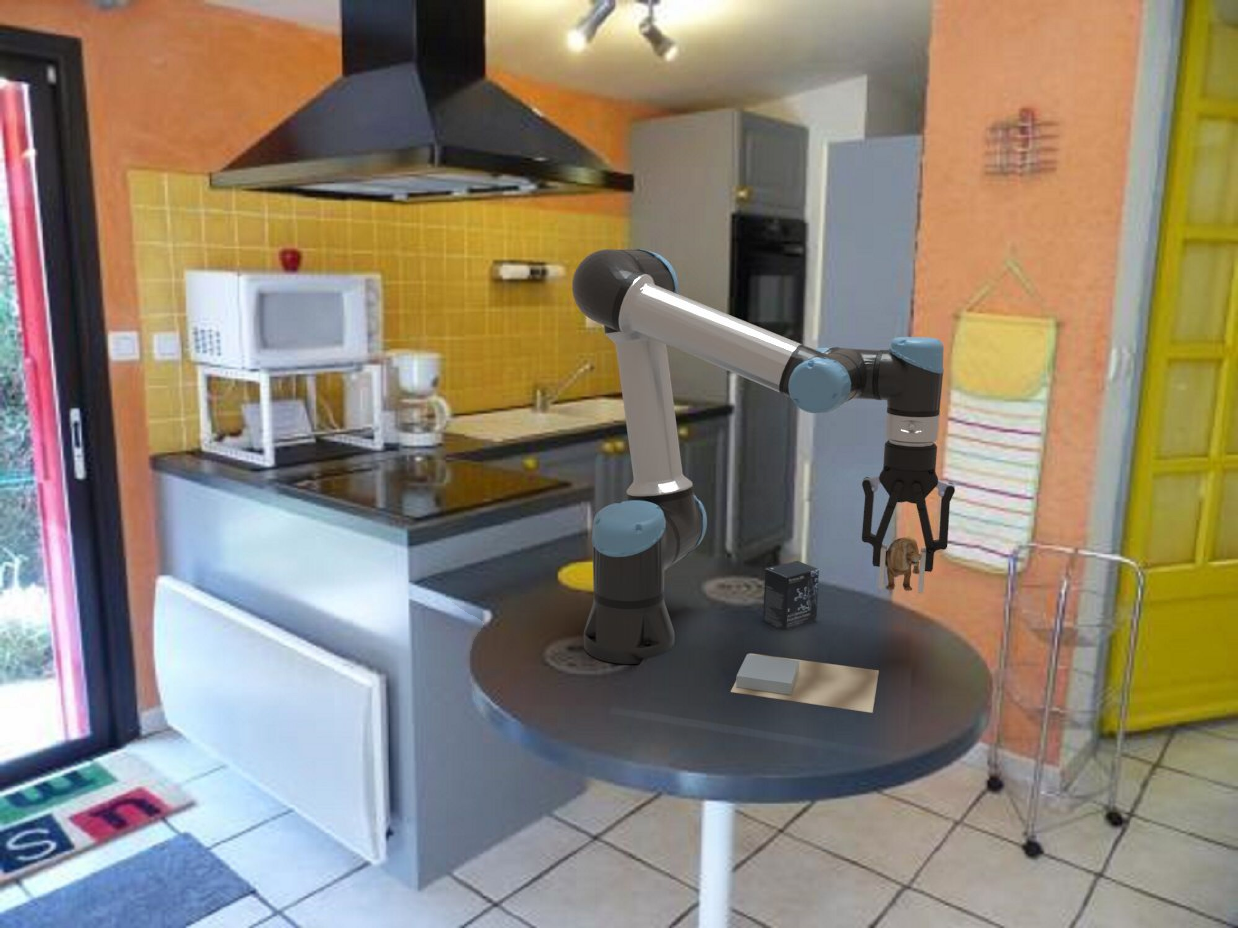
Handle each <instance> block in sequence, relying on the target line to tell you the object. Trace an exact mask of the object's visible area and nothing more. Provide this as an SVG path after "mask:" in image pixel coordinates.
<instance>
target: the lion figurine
mask: <svg viewBox="0 0 1238 928" xmlns="http://www.w3.org/2000/svg"><path fill="white" fill-rule="evenodd" d="M919 552H920V551H919V547H918V543H917V540H915V538H913V537H910V536H904V537H900V538H896V539H894V540H893V541H892V542H891V543H890V545H889V547H888V549H887V551H886V566H885V568H886V574H887V585H886V586H885V589H886V590H887V591H894V590H895V587H896V584H895V579H894V578H898V577H899V576H903V582H902V587H903V590H904V591H906V592H908V591H912V590H913V588H912V586H911V577H912V573H913V574H914V575H919V569H920V559H921V557H922V556H921V553H919ZM912 565H913V569H912Z"/></svg>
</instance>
